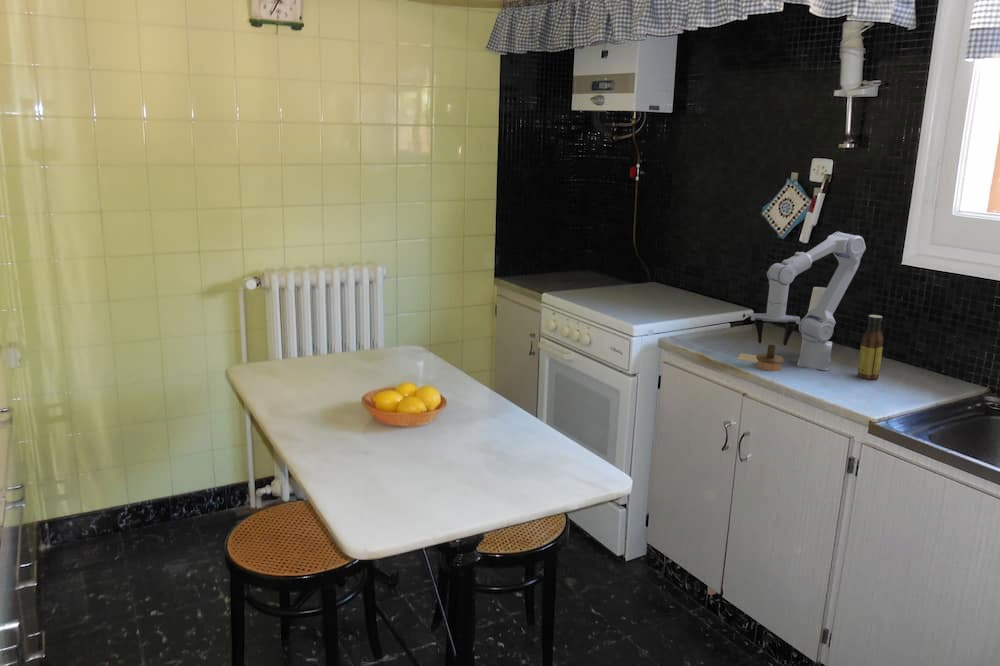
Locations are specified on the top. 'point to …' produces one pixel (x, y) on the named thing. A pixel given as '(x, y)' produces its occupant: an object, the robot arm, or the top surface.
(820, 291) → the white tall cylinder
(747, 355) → the mat
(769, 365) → the bowl
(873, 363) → the sauce bottle
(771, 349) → the lid
